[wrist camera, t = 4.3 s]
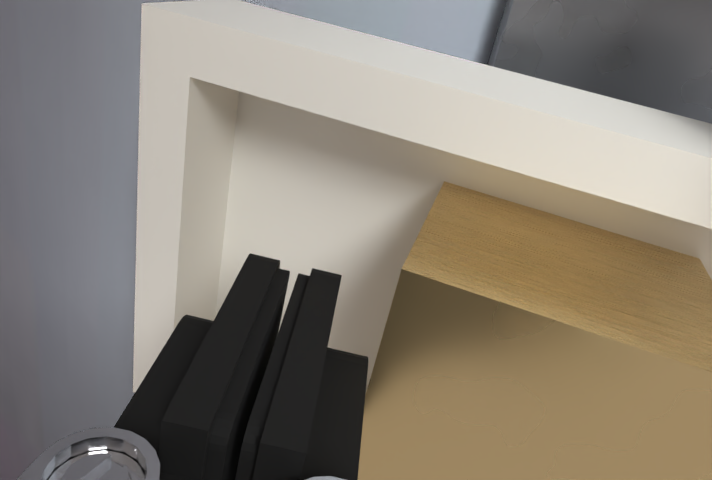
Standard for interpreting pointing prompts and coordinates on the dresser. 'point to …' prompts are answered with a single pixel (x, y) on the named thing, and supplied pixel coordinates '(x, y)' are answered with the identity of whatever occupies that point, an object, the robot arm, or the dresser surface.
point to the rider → (539, 353)
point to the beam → (367, 161)
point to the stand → (615, 49)
